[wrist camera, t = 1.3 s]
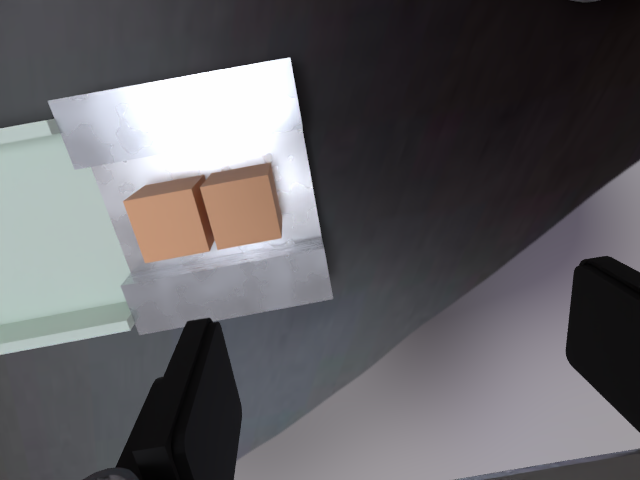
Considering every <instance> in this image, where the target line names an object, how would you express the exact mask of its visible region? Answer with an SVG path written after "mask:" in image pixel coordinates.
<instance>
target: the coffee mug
mask: <svg viewBox="0 0 640 480" xmlns="http://www.w3.org/2000/svg"><path fill="white" fill-rule="evenodd" d="M571 1H577V2H595V1H600V0H571Z"/></svg>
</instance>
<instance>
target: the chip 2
mask: <svg viewBox="0 0 640 480" xmlns="http://www.w3.org/2000/svg"><path fill="white" fill-rule="evenodd" d="M200 190H201V193H202V197H203V200H204V204H205V207H206V211H207V214H208V218H209V221H210V225H211V228H212V232H213V236H214V239H215V243H216V246H217V250H220V249H226V248H231V247H237V246H242V245H247V244H253V243H258V242H264V241H269V240H275V239H280V238H282V214H281V210H280V205H279V200H278V195H277V191H276V186H275V181H274V177H273V172H272V167H271V163H264V164H259V165H253V166H248V167H242V168H237V169H231V170H226V171H220V172H215V173H211V174H210V176H209V177H208V178H207V179H206V180H205V182H204V183H203V184H202V185H201V186H200Z"/></svg>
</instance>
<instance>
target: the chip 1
mask: <svg viewBox="0 0 640 480" xmlns="http://www.w3.org/2000/svg"><path fill="white" fill-rule="evenodd" d="M205 180H206V179H205V175H198V176H193V177H187V178H182V179H176V180H171V181H166V182H160V183H155V184H149V185H145V186H143V187H142V188H141V189H139V190H138V191H136V192H135V193H134V194H132V195H131V196H130V197H128V198H127V199H125V200H124V201H123V203H124V206H125V209H126V211H127V214H128V217H129V220H130V223H131V225H132V228H133V231H134V234H135V237H136V239H137V242H138V245H139V248H140V250H141V253H142V256H143V259H144V262H145V263H150V262H155V261H161V260H166V259H172V258H177V257H183V256H188V255H193V254H199V253H204V252H210V249H211V247H212V245H213V243H214V241H215V239H214V236H213V232H212V228H211V225H210V221H209V218H208V214H207V211H206V207H205V204H204V200H203V197H202V193H201V190H200V186H201V185H202V184H203V183H204V182H205Z"/></svg>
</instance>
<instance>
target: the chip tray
mask: <svg viewBox="0 0 640 480" xmlns="http://www.w3.org/2000/svg"><path fill="white" fill-rule="evenodd" d="M130 273H131V272H130V270H129V267H128V264H127V262H126V259H125V256H124V254H123V251H122V248H121V246H120V243H119V240H118V238H117V235H116V233H115V230H114V227H113V225H112V222H111V219H110V217H109V214H108V211H107V209H106V206H105V203H104V201H103V198H102V195H101V193H100V190H99V187H98V185H97V182H96V179H95V177H94V174H93V172H92V169H91V167H88V168H82V169H77V170H75V169H74V167H73V164H72V162H71V159H70V157H69V154H68V151H67V149H66V146H65V144H64V141H63V139H62V136H61V134H60V131H59V129H58V126H57V123H56V121H55V119H51V120H45V121H39V122H34V123H28V124H23V125H17V126H12V127H6V128H0V355H2V354H7V353H13V352H18V351H23V350H29V349H34V348H39V347H45V346H50V345H55V344H61V343H66V342H72V341H77V340H82V339H88V338H93V337H98V336H104V335H109V334H114V333H120V332H125V331H130V330H131V329H132V327H133V326H134V324H135V322H134V319H133V317H132V314H131V312H130V309H129V307H128V304H127V302H126V299H125V297H124V294H123V291H122V289H121V284H122V283H123V282H124V281H125V280H126V278H127V277H128V276H129V275H130Z"/></svg>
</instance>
